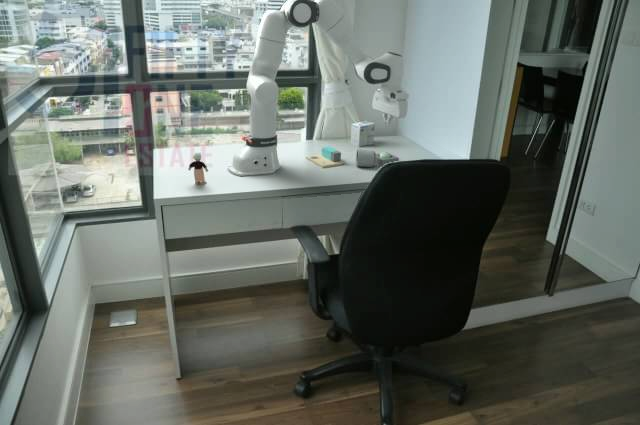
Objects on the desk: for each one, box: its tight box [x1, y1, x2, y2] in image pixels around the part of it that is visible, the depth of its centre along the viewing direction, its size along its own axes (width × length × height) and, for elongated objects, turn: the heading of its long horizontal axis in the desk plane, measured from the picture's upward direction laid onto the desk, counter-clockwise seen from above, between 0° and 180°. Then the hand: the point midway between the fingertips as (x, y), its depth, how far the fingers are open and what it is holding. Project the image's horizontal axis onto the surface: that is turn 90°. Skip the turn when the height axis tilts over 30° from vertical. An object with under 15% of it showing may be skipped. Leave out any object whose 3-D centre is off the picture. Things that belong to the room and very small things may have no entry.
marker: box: [321, 145, 342, 162], centre depth 229 cm, size 10×4×4 cm, turn 31°
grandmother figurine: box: [187, 151, 209, 186], centre depth 196 cm, size 8×4×13 cm, turn 99°
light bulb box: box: [350, 120, 376, 148], centre depth 254 cm, size 11×7×11 cm, turn 130°
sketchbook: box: [305, 153, 345, 169], centre depth 228 cm, size 11×15×1 cm
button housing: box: [375, 152, 400, 167], centre depth 229 cm, size 9×9×3 cm
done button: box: [379, 151, 391, 159], centre depth 229 cm, size 5×5×4 cm
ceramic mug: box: [355, 148, 377, 168], centre depth 224 cm, size 11×8×8 cm
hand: (387, 123), depth 222 cm, fingers closed
